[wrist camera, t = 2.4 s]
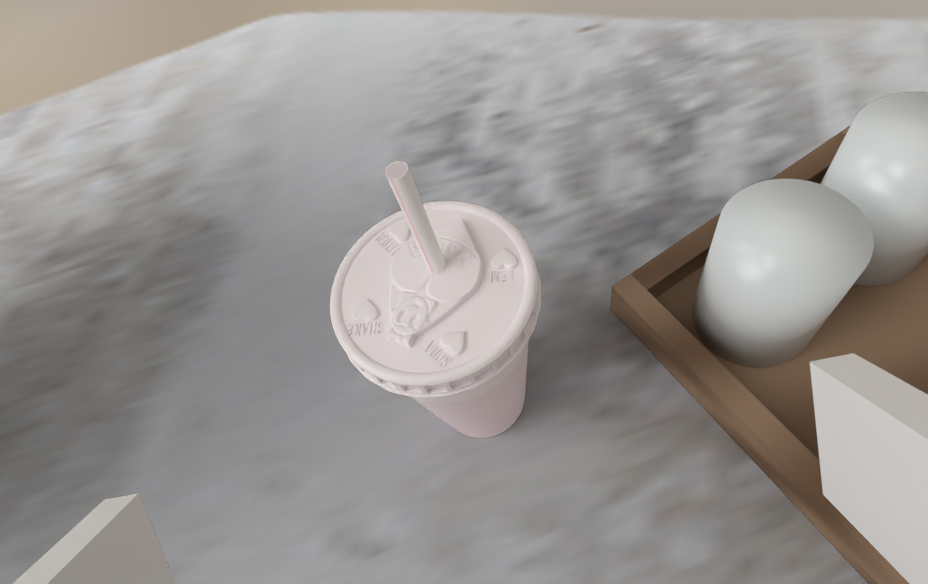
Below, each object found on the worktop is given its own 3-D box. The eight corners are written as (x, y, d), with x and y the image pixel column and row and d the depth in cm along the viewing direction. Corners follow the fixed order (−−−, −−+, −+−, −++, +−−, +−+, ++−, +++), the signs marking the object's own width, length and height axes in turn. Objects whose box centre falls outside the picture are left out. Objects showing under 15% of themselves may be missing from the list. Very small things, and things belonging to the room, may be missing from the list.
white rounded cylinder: (668, 308, 25) (688, 225, 20) (749, 251, 26) (789, 157, 20) (751, 390, 23) (797, 320, 17) (838, 325, 23) (908, 240, 18)
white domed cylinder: (774, 235, 26) (820, 136, 21) (849, 181, 26) (912, 73, 21) (866, 306, 23) (944, 214, 18) (946, 246, 24) (1043, 141, 19)
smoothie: (577, 355, 25) (565, 112, 13) (524, 496, 23) (451, 351, 11) (447, 313, 28) (339, 75, 16) (386, 437, 25) (201, 265, 13)
